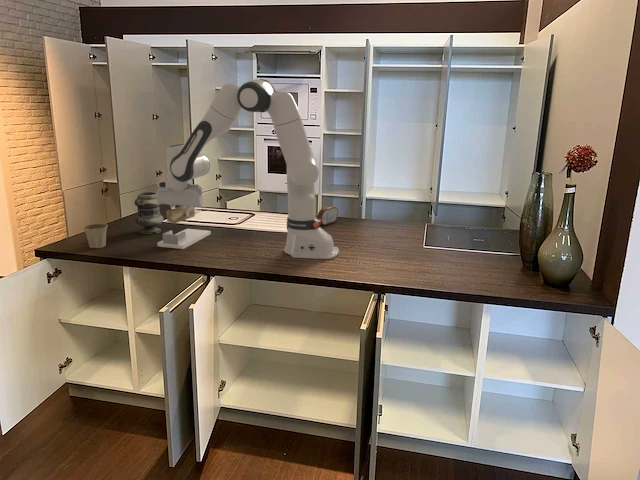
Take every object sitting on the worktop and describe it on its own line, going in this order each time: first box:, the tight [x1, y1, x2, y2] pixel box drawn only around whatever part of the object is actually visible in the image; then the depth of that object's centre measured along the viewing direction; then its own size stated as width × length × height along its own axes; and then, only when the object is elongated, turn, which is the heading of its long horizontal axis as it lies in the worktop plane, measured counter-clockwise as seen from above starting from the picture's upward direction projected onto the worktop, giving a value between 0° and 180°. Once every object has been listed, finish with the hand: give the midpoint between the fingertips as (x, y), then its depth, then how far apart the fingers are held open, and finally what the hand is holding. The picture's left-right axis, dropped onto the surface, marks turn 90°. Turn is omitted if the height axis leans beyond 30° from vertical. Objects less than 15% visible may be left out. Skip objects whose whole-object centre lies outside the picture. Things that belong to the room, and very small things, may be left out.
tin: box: [316, 205, 339, 226], centre depth 243 cm, size 15×3×8 cm, turn 144°
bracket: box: [156, 228, 212, 250], centre depth 211 cm, size 12×24×6 cm, turn 165°
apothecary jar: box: [134, 191, 164, 235], centre depth 221 cm, size 12×12×18 cm
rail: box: [165, 206, 196, 224], centre depth 206 cm, size 4×14×5 cm, turn 158°
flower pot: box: [82, 223, 109, 249], centre depth 199 cm, size 9×9×9 cm
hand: (181, 215), depth 206 cm, fingers closed on rail, 4 cm apart
